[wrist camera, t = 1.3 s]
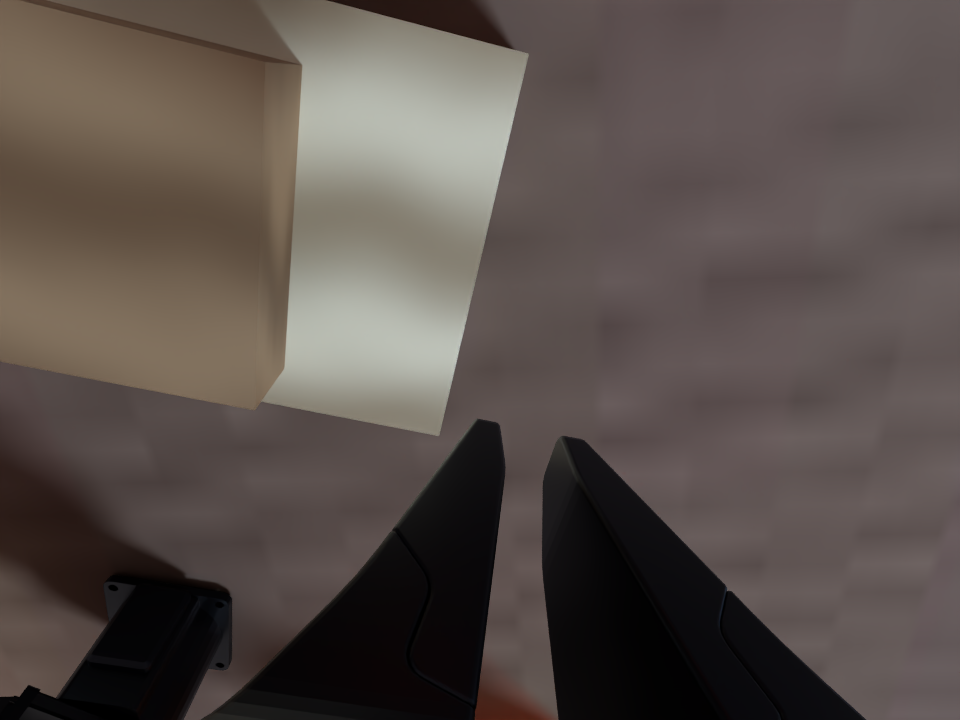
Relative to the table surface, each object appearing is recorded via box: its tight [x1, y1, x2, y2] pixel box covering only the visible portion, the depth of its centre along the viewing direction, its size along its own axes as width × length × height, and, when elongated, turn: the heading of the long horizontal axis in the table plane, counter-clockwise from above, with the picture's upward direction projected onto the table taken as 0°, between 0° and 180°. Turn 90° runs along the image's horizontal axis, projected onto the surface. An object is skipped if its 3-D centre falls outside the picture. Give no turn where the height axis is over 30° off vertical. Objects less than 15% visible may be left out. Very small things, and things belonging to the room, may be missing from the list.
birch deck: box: [47, 0, 529, 436], centre depth 17 cm, size 12×16×4 cm
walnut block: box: [0, 0, 302, 410], centre depth 14 cm, size 9×7×2 cm
